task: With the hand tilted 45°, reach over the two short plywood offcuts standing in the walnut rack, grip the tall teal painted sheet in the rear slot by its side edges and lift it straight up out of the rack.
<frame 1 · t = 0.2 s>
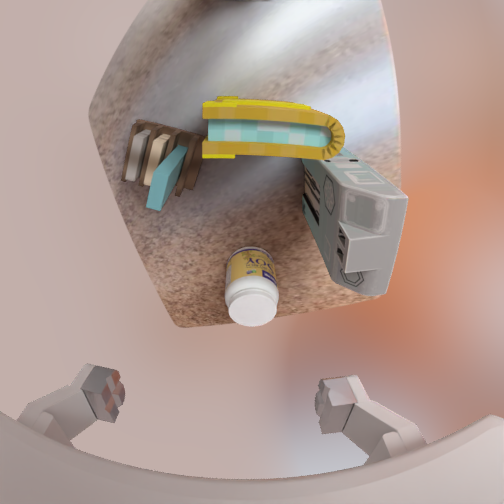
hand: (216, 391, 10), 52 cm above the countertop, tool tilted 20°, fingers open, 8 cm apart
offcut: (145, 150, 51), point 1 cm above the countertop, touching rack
device: (317, 176, 58), on the countertop
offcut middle: (162, 154, 52), point 1 cm above the countertop, touching rack
book: (260, 112, 50), on the countertop
rack: (166, 153, 53), on the countertop
supplement tub: (249, 263, 71), on the countertop
tall sheet: (180, 159, 53), point 1 cm above the countertop, touching rack
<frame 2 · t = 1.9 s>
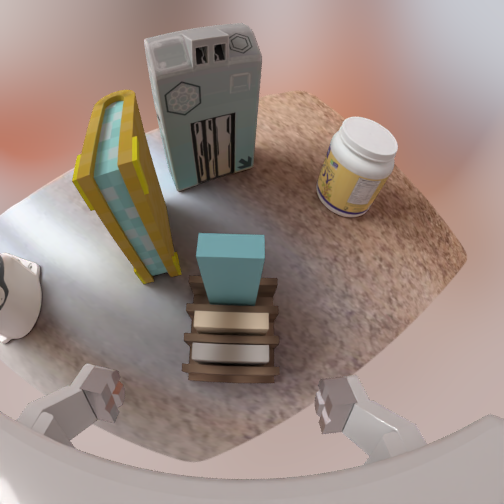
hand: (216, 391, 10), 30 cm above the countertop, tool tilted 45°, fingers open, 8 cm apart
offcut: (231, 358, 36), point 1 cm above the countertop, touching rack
device: (210, 169, 55), on the countertop
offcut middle: (232, 331, 38), point 1 cm above the countertop, touching rack
book: (155, 237, 47), on the countertop
rack: (232, 330, 40), on the countertop
supplement tub: (342, 196, 54), on the countertop
tall sheet: (232, 305, 40), point 1 cm above the countertop, touching rack
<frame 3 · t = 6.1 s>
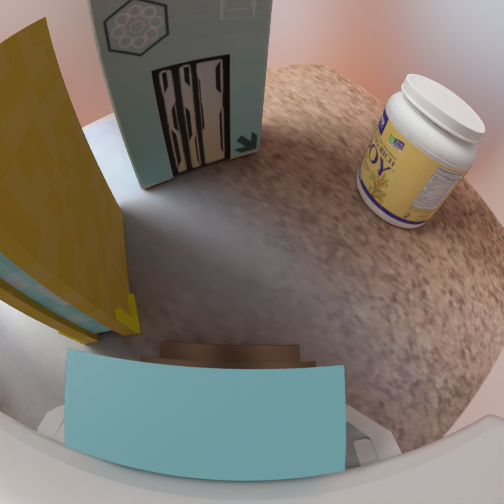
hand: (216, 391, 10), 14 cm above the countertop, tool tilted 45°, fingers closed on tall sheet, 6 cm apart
device: (194, 155, 35), on the countertop
book: (104, 265, 27), on the countertop
rack: (229, 431, 20), on the countertop
supplement tub: (392, 196, 34), on the countertop
tall sheet: (228, 396, 20), point 1 cm above the countertop, touching gripper, rack
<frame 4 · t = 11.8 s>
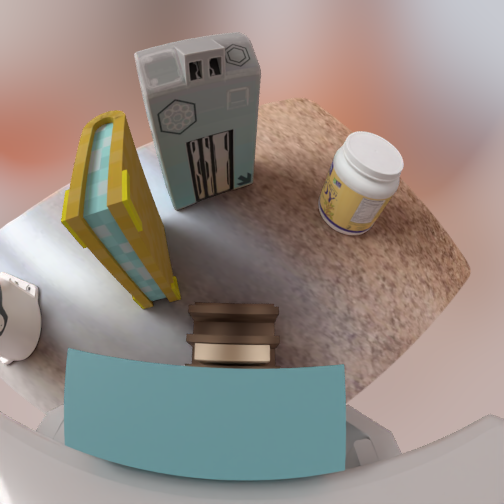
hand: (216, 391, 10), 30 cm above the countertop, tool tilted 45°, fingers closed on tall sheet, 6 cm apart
device: (208, 185, 54), on the countertop
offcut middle: (233, 358, 37), point 1 cm above the countertop, touching rack
book: (154, 260, 46), on the countertop
rack: (233, 356, 38), on the countertop
supplement tub: (345, 213, 53), on the countertop
tall sheet: (228, 396, 20), point 18 cm above the countertop, touching gripper
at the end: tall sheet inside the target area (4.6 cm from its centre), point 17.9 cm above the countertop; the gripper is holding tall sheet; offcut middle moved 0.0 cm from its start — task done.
